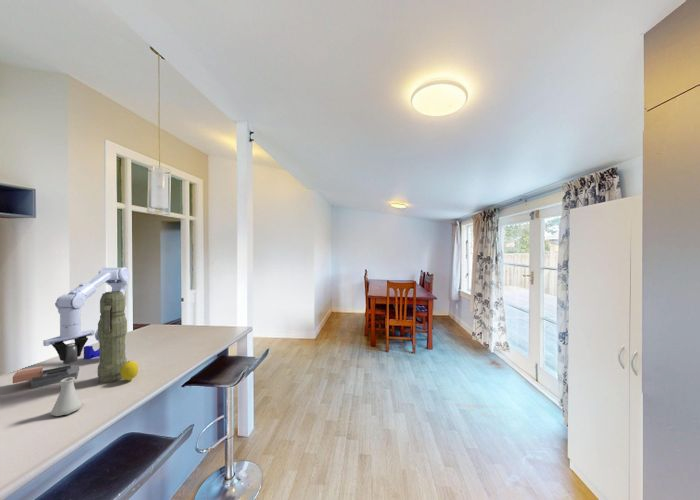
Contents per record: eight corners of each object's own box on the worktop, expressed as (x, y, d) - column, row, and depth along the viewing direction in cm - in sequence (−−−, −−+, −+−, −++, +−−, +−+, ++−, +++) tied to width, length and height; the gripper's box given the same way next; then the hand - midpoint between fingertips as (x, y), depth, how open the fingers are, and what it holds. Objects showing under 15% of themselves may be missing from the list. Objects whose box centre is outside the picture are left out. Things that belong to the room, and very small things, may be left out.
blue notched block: (106, 349, 140) (106, 338, 140) (114, 350, 140) (114, 338, 140) (80, 359, 129) (80, 346, 129) (89, 359, 128) (89, 347, 128)
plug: (79, 359, 111) (79, 341, 111) (75, 362, 107) (75, 344, 107) (65, 361, 109) (65, 343, 109) (61, 364, 105) (61, 346, 105)
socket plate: (79, 370, 116) (79, 362, 116) (76, 378, 109) (76, 370, 109) (37, 379, 108) (37, 370, 108) (31, 388, 101) (31, 379, 101)
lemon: (118, 385, 103) (118, 364, 103) (122, 379, 108) (122, 359, 108) (136, 382, 106) (136, 361, 106) (139, 376, 111) (139, 356, 111)
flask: (66, 404, 91) (66, 374, 91) (89, 403, 92) (89, 373, 92) (43, 417, 84) (43, 385, 84) (68, 416, 84) (68, 384, 84)
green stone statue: (93, 387, 102) (93, 295, 102) (102, 375, 112) (102, 290, 112) (123, 382, 106) (123, 293, 106) (129, 370, 116) (129, 289, 116)
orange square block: (42, 372, 108) (42, 366, 108) (39, 378, 103) (39, 371, 103) (17, 377, 104) (17, 370, 104) (12, 383, 99) (12, 376, 99)
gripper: (88, 318, 116) (88, 350, 116) (39, 327, 103) (39, 363, 103) (97, 320, 114) (97, 352, 114) (48, 330, 100) (48, 366, 100)
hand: (70, 358), depth 108 cm, fingers closed on plug, 4 cm apart
